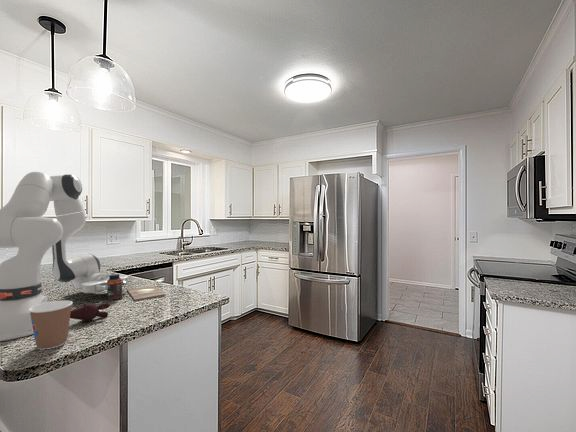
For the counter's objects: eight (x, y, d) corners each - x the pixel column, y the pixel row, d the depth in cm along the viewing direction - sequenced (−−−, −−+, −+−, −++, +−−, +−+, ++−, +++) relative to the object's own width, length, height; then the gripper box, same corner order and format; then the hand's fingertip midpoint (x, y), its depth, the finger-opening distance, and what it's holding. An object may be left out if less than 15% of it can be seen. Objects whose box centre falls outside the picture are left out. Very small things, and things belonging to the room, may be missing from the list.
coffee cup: (37, 341, 89) (36, 303, 89) (77, 334, 93) (76, 298, 93) (23, 356, 79) (22, 313, 79) (68, 348, 84) (67, 308, 84)
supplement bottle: (124, 296, 137) (124, 272, 136) (119, 299, 131) (118, 275, 130) (111, 296, 136) (110, 273, 136) (105, 300, 130) (104, 276, 130)
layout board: (164, 295, 136) (164, 293, 136) (134, 301, 128) (134, 299, 128) (154, 286, 154) (154, 284, 154) (127, 290, 146) (127, 289, 146)
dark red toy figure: (60, 312, 97) (111, 306, 106) (60, 301, 102) (109, 296, 112) (58, 330, 98) (109, 322, 107) (58, 319, 103) (106, 312, 113)
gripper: (74, 281, 130) (92, 284, 123) (118, 272, 148) (135, 274, 142) (74, 294, 130) (92, 298, 123) (118, 284, 148) (135, 287, 142)
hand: (115, 285), depth 133 cm, fingers open, 8 cm apart
